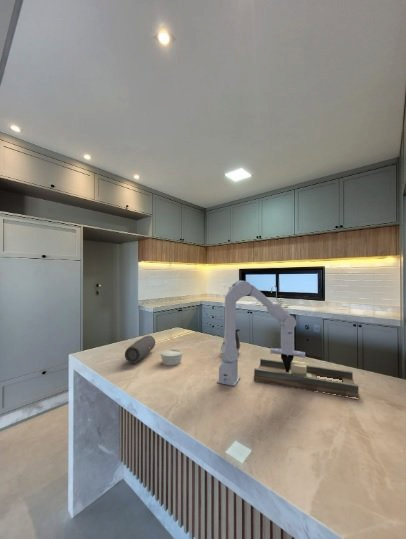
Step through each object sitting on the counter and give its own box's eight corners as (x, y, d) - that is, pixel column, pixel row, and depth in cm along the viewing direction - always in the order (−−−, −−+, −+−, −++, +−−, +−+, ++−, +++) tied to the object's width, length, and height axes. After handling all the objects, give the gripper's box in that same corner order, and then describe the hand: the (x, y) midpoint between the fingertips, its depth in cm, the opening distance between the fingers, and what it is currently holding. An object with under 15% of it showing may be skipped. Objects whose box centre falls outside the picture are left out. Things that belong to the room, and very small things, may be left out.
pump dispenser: (235, 356, 135) (235, 329, 135) (219, 353, 141) (219, 327, 141) (243, 352, 143) (243, 326, 143) (228, 348, 149) (228, 324, 150)
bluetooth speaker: (140, 366, 121) (141, 346, 122) (123, 365, 123) (123, 345, 123) (156, 351, 144) (156, 334, 144) (141, 350, 145) (141, 334, 145)
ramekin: (184, 359, 131) (184, 349, 132) (180, 367, 120) (180, 356, 120) (164, 358, 133) (164, 348, 133) (158, 366, 121) (158, 355, 122)
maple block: (306, 379, 102) (306, 367, 102) (291, 376, 104) (291, 365, 104) (306, 374, 107) (306, 362, 107) (292, 371, 110) (292, 360, 110)
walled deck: (358, 399, 89) (358, 387, 89) (253, 380, 105) (253, 370, 105) (351, 381, 105) (351, 370, 105) (261, 366, 121) (261, 357, 121)
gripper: (305, 340, 108) (305, 370, 108) (272, 337, 114) (272, 365, 114) (304, 344, 102) (304, 377, 102) (269, 340, 108) (269, 371, 108)
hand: (287, 371), depth 108 cm, fingers closed
